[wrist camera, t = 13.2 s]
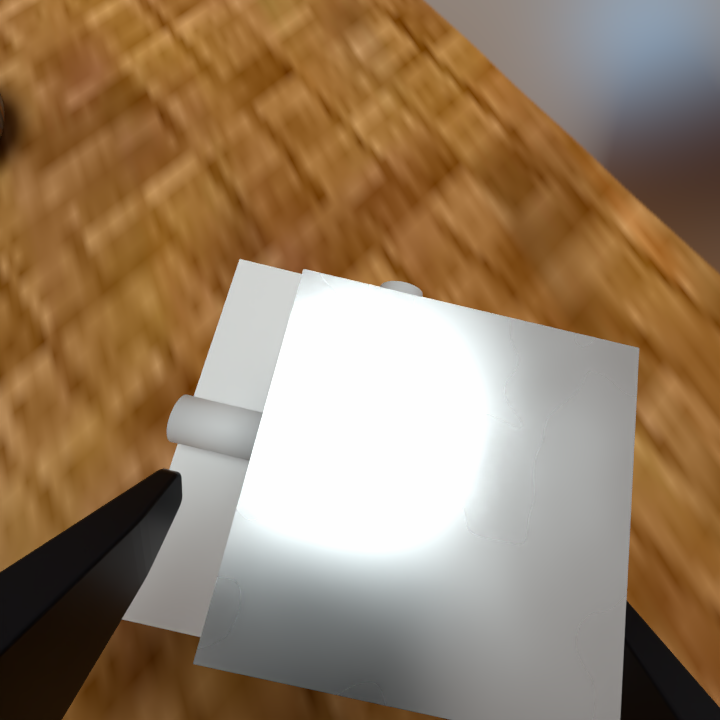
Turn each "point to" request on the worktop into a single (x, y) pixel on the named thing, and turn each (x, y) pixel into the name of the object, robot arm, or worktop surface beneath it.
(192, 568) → the plate
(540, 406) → the silver metal block
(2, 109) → the vase
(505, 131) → the worktop surface
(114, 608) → the robot arm
